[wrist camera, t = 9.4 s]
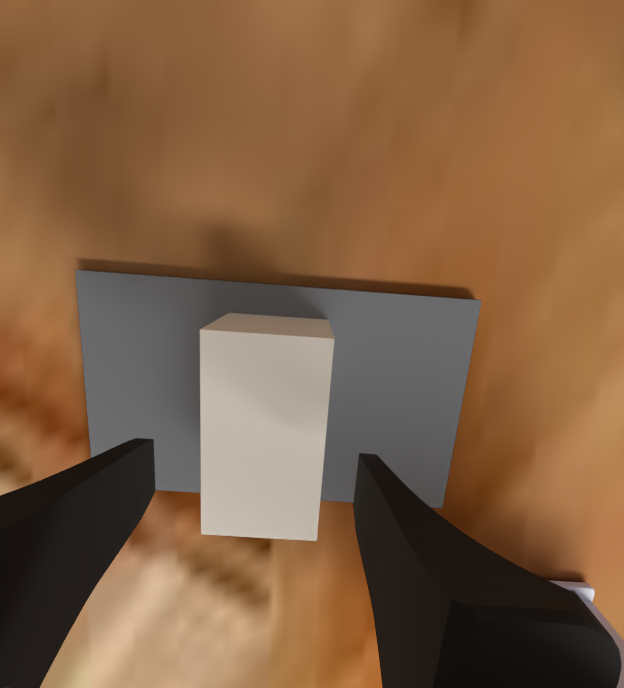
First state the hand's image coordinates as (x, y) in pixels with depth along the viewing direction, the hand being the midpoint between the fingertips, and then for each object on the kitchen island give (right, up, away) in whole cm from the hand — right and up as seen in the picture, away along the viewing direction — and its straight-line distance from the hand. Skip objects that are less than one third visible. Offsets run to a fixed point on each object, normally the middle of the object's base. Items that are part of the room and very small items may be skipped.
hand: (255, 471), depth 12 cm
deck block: (0, +1, +6) cm, 6 cm away
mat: (0, +2, +7) cm, 7 cm away
